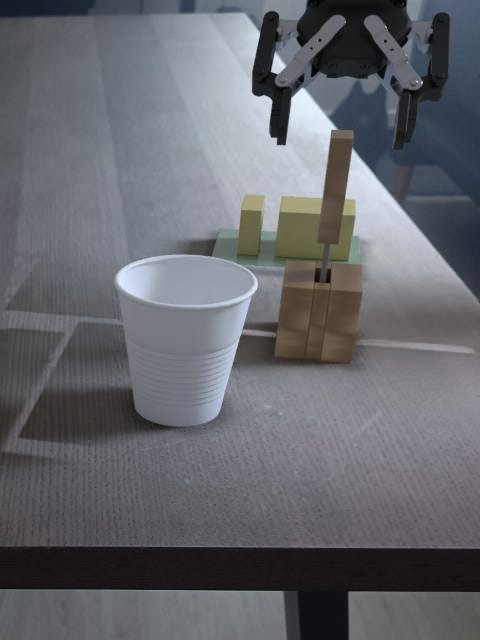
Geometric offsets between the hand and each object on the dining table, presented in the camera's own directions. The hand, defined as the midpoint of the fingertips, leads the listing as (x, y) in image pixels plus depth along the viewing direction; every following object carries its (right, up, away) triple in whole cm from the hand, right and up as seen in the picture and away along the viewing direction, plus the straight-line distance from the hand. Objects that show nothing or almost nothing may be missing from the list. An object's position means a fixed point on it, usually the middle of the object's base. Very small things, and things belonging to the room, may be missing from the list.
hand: (339, 142), depth 79 cm
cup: (-12, -21, 0) cm, 24 cm away
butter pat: (-1, -2, +26) cm, 26 cm away
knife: (0, -14, +7) cm, 16 cm away
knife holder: (0, -15, +8) cm, 17 cm away
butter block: (+5, -3, +24) cm, 25 cm away
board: (+3, -4, +25) cm, 26 cm away
